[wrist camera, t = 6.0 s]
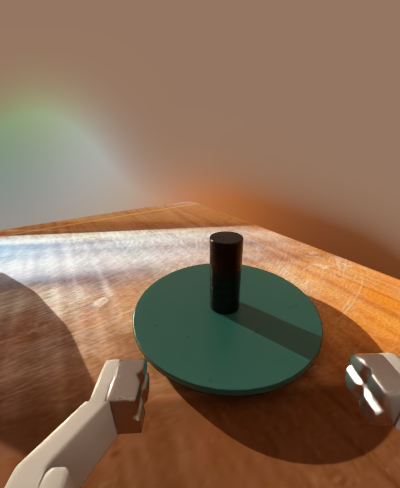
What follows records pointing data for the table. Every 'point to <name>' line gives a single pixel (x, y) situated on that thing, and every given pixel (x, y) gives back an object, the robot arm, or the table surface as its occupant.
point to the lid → (227, 325)
